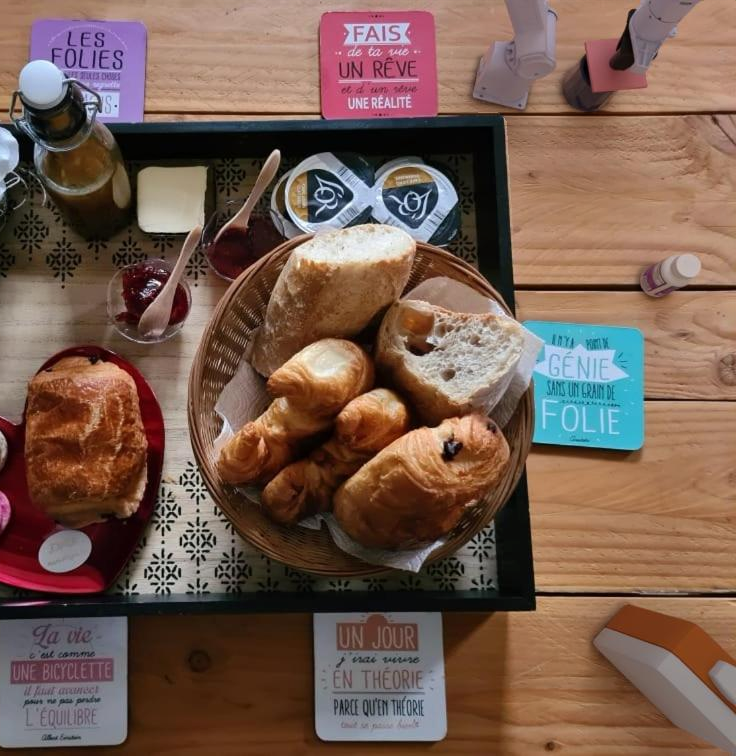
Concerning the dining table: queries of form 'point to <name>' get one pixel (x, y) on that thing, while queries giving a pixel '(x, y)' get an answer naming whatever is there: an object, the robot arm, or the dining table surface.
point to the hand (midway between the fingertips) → (620, 59)
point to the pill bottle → (670, 274)
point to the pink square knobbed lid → (609, 68)
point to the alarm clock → (676, 671)
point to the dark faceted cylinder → (583, 89)
